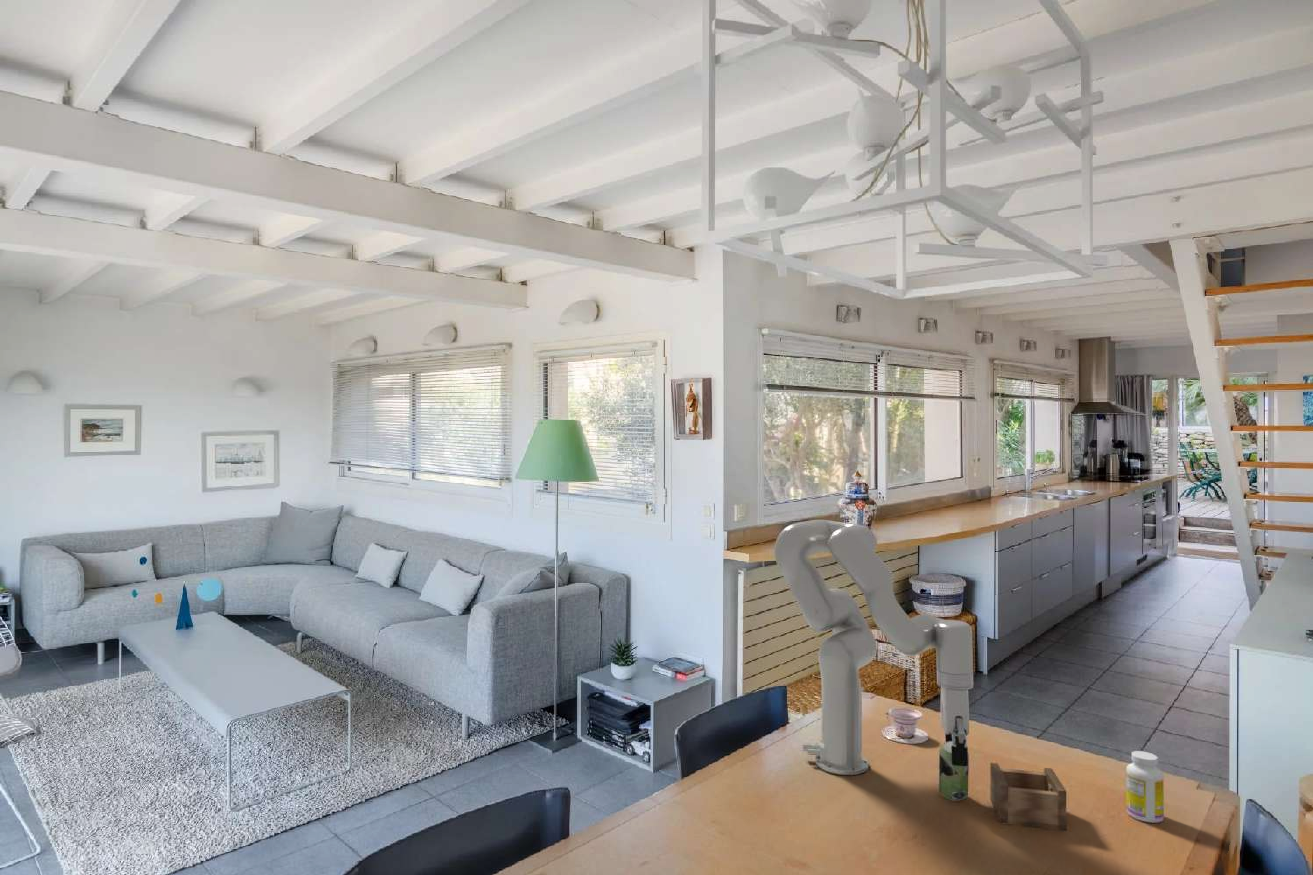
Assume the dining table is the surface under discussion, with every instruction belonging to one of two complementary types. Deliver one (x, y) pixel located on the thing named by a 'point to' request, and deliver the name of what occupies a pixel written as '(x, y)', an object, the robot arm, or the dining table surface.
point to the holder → (1028, 797)
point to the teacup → (905, 726)
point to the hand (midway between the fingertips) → (956, 756)
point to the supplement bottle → (1145, 788)
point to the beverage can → (952, 775)
